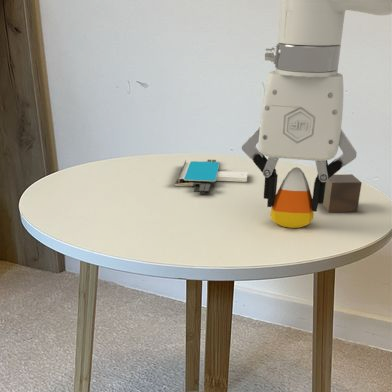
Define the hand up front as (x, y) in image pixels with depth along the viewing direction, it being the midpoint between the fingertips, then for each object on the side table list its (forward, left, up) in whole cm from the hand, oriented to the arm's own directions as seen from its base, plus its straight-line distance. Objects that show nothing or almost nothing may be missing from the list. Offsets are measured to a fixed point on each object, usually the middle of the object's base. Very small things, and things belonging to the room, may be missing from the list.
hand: (293, 204), depth 82 cm
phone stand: (+16, -20, -3) cm, 26 cm away
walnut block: (-6, -10, -3) cm, 12 cm away
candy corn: (0, 0, -3) cm, 3 cm away
